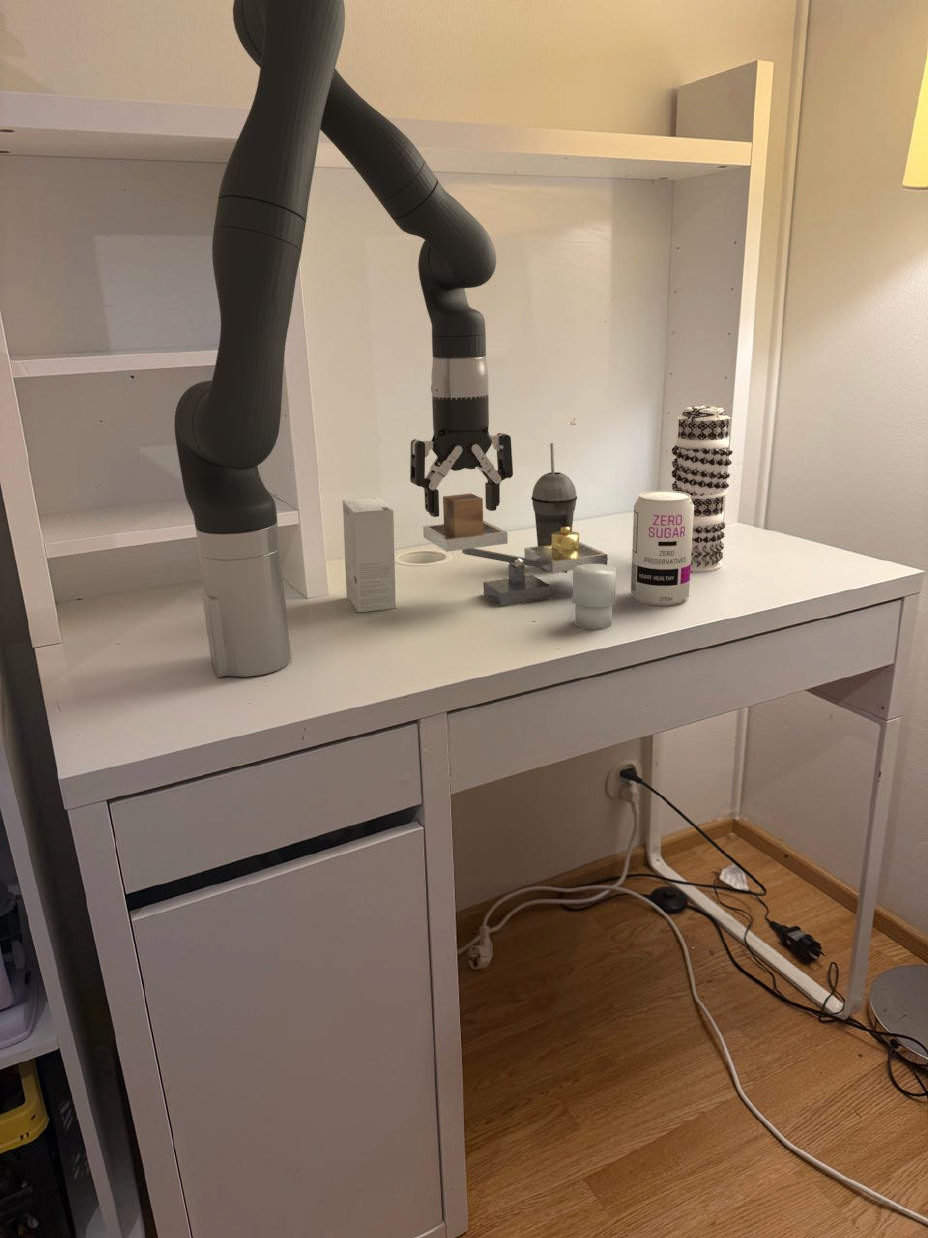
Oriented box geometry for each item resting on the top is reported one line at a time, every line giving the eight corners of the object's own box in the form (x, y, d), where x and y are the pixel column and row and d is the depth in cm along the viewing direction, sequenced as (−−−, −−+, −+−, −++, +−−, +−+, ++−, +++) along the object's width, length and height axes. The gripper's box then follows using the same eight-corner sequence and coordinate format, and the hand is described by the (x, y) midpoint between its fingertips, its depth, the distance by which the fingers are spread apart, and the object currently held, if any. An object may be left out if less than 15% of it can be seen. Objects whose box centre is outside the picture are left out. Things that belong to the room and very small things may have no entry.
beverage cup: (540, 576, 139) (540, 448, 132) (525, 564, 145) (524, 442, 139) (583, 571, 140) (585, 445, 134) (566, 560, 147) (567, 439, 140)
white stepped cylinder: (622, 626, 116) (624, 572, 113) (585, 633, 114) (586, 577, 111) (600, 614, 121) (601, 561, 118) (564, 620, 119) (565, 567, 116)
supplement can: (664, 586, 132) (669, 487, 127) (700, 601, 125) (707, 496, 120) (619, 595, 128) (622, 493, 124) (654, 610, 121) (659, 503, 116)
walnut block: (444, 534, 124) (442, 496, 122) (471, 531, 125) (470, 493, 124) (455, 541, 120) (454, 501, 118) (483, 537, 122) (482, 498, 120)
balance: (449, 618, 121) (446, 539, 117) (426, 600, 128) (423, 526, 125) (606, 593, 129) (608, 519, 126) (576, 577, 137) (577, 507, 134)
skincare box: (346, 597, 131) (338, 499, 126) (385, 592, 133) (379, 495, 128) (358, 614, 123) (350, 510, 119) (399, 609, 125) (394, 506, 120)
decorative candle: (669, 572, 139) (677, 410, 130) (663, 557, 147) (670, 404, 139) (728, 572, 137) (740, 409, 129) (719, 557, 146) (730, 403, 138)
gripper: (419, 397, 111) (424, 523, 116) (520, 391, 116) (521, 512, 121) (400, 393, 117) (405, 513, 123) (497, 388, 122) (498, 503, 128)
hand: (463, 512), depth 122 cm, fingers open, 8 cm apart
